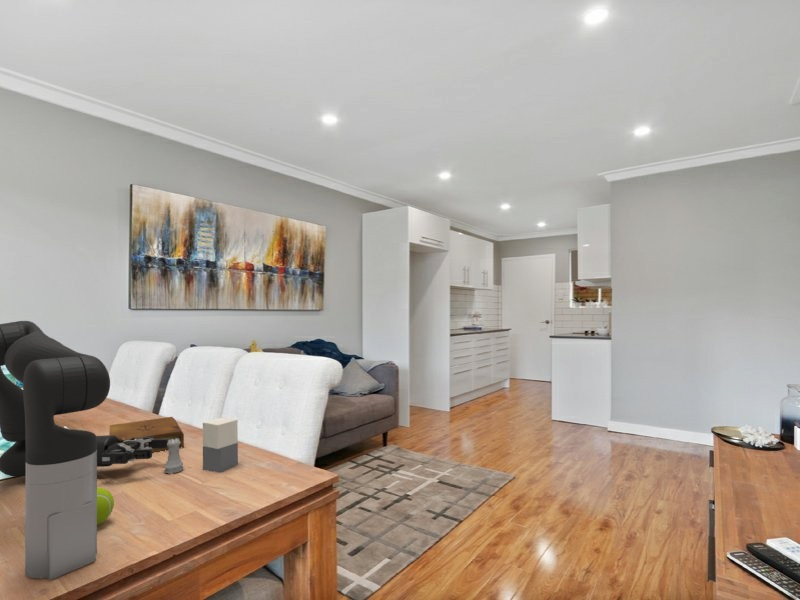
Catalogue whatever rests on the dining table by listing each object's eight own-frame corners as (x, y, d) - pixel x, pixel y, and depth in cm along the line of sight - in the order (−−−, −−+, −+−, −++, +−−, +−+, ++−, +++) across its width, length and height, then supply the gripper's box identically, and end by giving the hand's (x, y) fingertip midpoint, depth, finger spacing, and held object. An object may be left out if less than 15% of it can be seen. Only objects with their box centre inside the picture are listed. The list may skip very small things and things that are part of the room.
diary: (183, 450, 130) (183, 430, 130) (109, 463, 120) (109, 442, 120) (174, 432, 149) (174, 415, 149) (109, 442, 139) (109, 424, 139)
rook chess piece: (175, 474, 108) (175, 442, 108) (159, 473, 109) (159, 442, 109) (187, 468, 112) (187, 437, 113) (172, 467, 113) (172, 436, 114)
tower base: (237, 464, 115) (237, 441, 115) (220, 472, 109) (220, 448, 109) (220, 462, 117) (220, 439, 117) (202, 469, 111) (202, 446, 111)
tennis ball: (117, 525, 82) (117, 488, 83) (72, 539, 77) (72, 500, 78) (109, 513, 87) (109, 478, 88) (66, 526, 82) (66, 489, 83)
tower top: (237, 442, 114) (237, 419, 114) (218, 449, 109) (217, 425, 109) (222, 439, 117) (222, 417, 117) (202, 445, 112) (202, 422, 112)
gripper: (74, 445, 102) (145, 441, 104) (109, 428, 116) (172, 426, 118) (74, 476, 102) (145, 473, 103) (110, 457, 116) (172, 454, 117)
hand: (159, 448), depth 110 cm, fingers open, 8 cm apart
